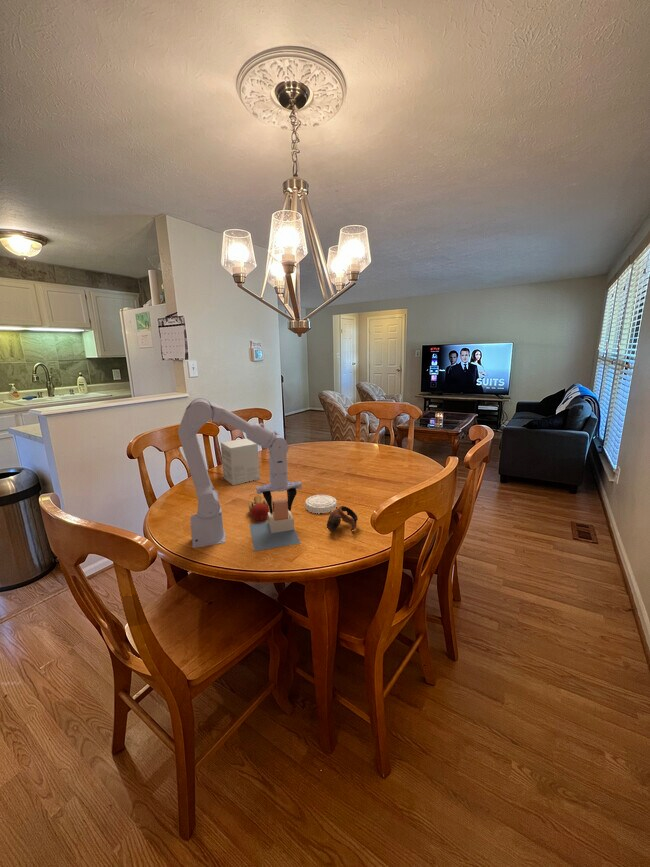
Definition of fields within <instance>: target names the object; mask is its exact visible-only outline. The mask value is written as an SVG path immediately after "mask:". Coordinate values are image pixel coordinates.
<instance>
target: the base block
mask: <svg viewBox="0 0 650 867" xmlns="http://www.w3.org/2000/svg"><path fill="white" fill-rule="evenodd" d="M292 514H293V513H292V512H291V511H289V510H288V519H283V520H277V521H274V518H273V513H271V514H270V511H269V512H268V516H267V522H268V524H269V527H270V530H271V533H276V532H283V531H289V530H294V529H295V519H294V516H293V515H292Z"/></svg>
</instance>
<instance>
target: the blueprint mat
mask: <svg viewBox="0 0 650 867" xmlns="http://www.w3.org/2000/svg"><path fill="white" fill-rule="evenodd" d="M249 529H250V530H249V531H250V535H251V540H252V541H251V542H252V546H253V551H254V552H258V551H264V550H265V551H266V550H271V549H276V548H282V547H283V548H284V547H289V546H293V545H299V544H301V541H300V538H299V536H298V533H297V531H296V528H294V530H289V531H283V532H276V533H271V530H270V527H269V524H268V521H262V522H256V523H255V522H254V523H249Z"/></svg>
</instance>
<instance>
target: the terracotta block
mask: <svg viewBox="0 0 650 867" xmlns="http://www.w3.org/2000/svg"><path fill="white" fill-rule="evenodd" d="M272 510H273V518H274V521H277V520H283V519H288V499H287V498H286V497H279V498H274V499H273V498H272Z"/></svg>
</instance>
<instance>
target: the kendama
mask: <svg viewBox="0 0 650 867" xmlns="http://www.w3.org/2000/svg"><path fill="white" fill-rule="evenodd" d="M253 501H254V502H248V511H249V515H250V516H251V517H253V518H252V519H254V520H255V521H263V520H266V518H268V512H270V510H269V506H268V503H267V501H266V500H265V499H263V501H262V497H261V495H260V494H256V495H255V496H254V497H253Z"/></svg>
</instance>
